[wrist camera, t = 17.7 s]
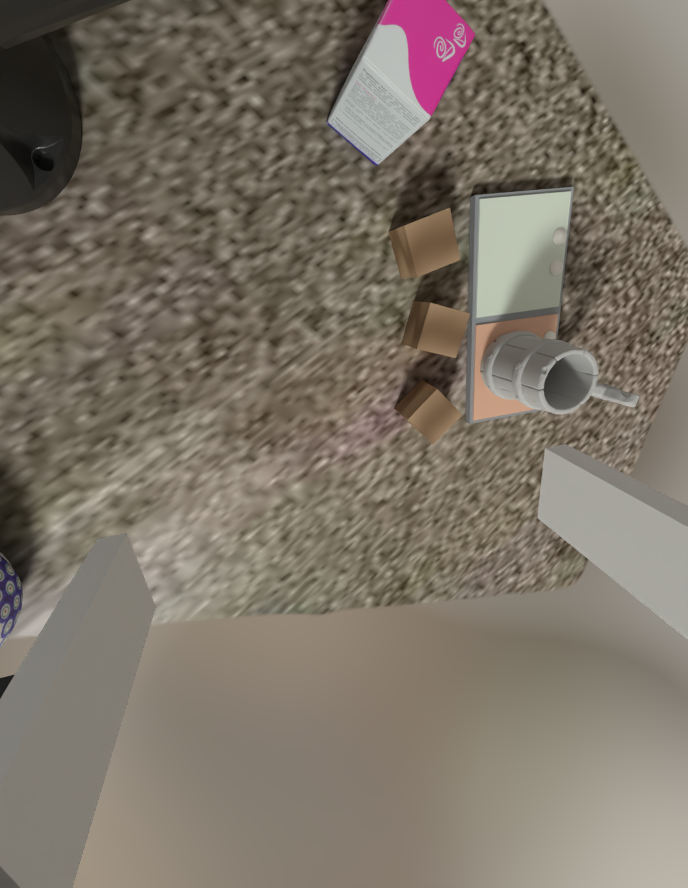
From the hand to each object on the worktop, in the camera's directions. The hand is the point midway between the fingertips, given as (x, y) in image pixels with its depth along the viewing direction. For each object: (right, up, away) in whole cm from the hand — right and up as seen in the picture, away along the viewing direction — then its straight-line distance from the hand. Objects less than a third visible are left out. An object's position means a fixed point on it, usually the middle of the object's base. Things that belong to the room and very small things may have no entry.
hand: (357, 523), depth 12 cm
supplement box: (+2, +32, +23) cm, 39 cm away
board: (+19, +17, +33) cm, 41 cm away
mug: (+21, +12, +34) cm, 41 cm away
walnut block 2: (+9, +15, +31) cm, 36 cm away
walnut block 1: (+7, +23, +28) cm, 36 cm away
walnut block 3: (+9, +7, +34) cm, 36 cm away
